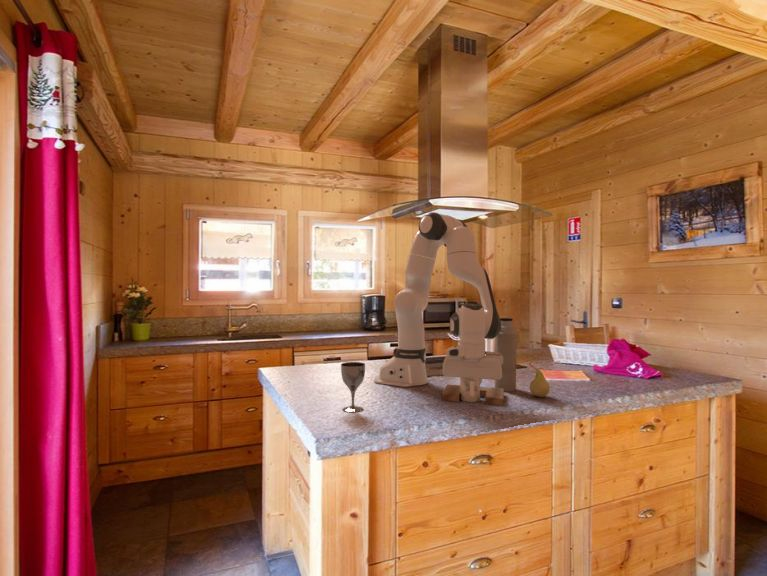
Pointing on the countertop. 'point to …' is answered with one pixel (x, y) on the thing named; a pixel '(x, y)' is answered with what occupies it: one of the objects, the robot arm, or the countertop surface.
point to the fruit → (539, 384)
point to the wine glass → (353, 381)
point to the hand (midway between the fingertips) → (471, 390)
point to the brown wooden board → (490, 394)
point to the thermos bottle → (507, 355)
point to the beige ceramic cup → (471, 394)
